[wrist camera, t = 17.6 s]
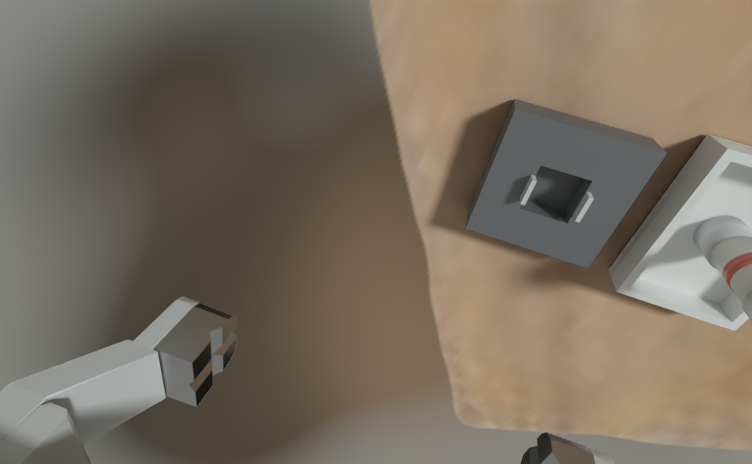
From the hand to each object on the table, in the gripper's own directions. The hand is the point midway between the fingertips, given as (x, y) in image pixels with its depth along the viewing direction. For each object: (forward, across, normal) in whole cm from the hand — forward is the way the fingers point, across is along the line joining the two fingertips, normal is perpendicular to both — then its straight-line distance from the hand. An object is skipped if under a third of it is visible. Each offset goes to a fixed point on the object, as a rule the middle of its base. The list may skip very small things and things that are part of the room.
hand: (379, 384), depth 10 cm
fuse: (+30, -25, +5) cm, 39 cm away
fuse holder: (+31, -10, +5) cm, 33 cm away
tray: (+31, -25, +5) cm, 40 cm away
